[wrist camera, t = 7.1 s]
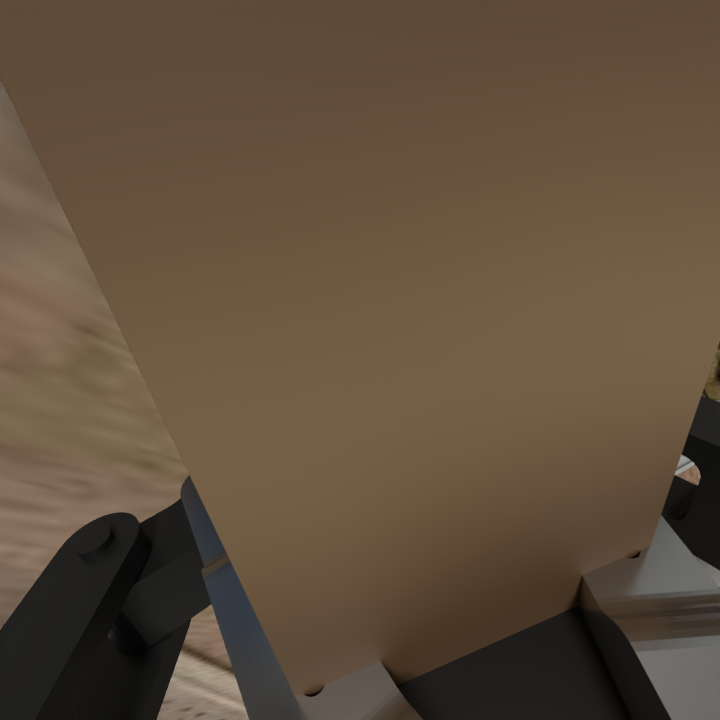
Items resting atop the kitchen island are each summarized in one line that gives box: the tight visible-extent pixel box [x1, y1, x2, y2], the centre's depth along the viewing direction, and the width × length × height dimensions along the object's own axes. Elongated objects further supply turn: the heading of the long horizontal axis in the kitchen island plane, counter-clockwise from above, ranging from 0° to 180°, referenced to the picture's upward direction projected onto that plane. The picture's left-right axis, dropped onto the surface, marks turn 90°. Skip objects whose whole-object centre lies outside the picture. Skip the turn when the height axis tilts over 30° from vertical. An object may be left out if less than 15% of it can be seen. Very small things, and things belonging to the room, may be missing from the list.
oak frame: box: [0, 0, 720, 697], centre depth 9 cm, size 14×4×10 cm, turn 8°
